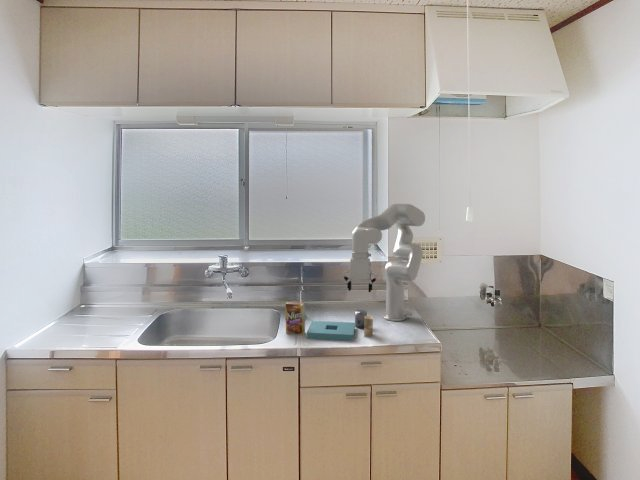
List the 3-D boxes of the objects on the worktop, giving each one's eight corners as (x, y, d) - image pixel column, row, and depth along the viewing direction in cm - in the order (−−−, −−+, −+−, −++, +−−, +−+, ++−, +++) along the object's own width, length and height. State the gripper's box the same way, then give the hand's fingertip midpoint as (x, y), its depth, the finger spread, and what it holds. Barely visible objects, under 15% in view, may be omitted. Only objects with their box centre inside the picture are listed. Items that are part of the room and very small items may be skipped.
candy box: (285, 333, 187) (284, 303, 185) (288, 330, 191) (288, 301, 189) (302, 335, 184) (302, 305, 182) (305, 332, 189) (305, 302, 186)
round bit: (366, 324, 199) (366, 309, 198) (366, 328, 193) (366, 313, 192) (355, 324, 199) (355, 309, 198) (354, 328, 194) (354, 313, 192)
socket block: (354, 328, 194) (354, 322, 193) (353, 340, 178) (353, 334, 177) (312, 326, 196) (311, 320, 196) (306, 338, 181) (306, 332, 180)
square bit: (372, 333, 186) (372, 316, 185) (372, 337, 183) (372, 319, 181) (364, 333, 187) (364, 315, 186) (364, 336, 183) (364, 318, 182)
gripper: (379, 255, 180) (379, 290, 183) (344, 253, 185) (343, 287, 188) (377, 258, 173) (376, 294, 176) (340, 256, 178) (340, 291, 181)
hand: (359, 290), depth 182 cm, fingers open, 9 cm apart
